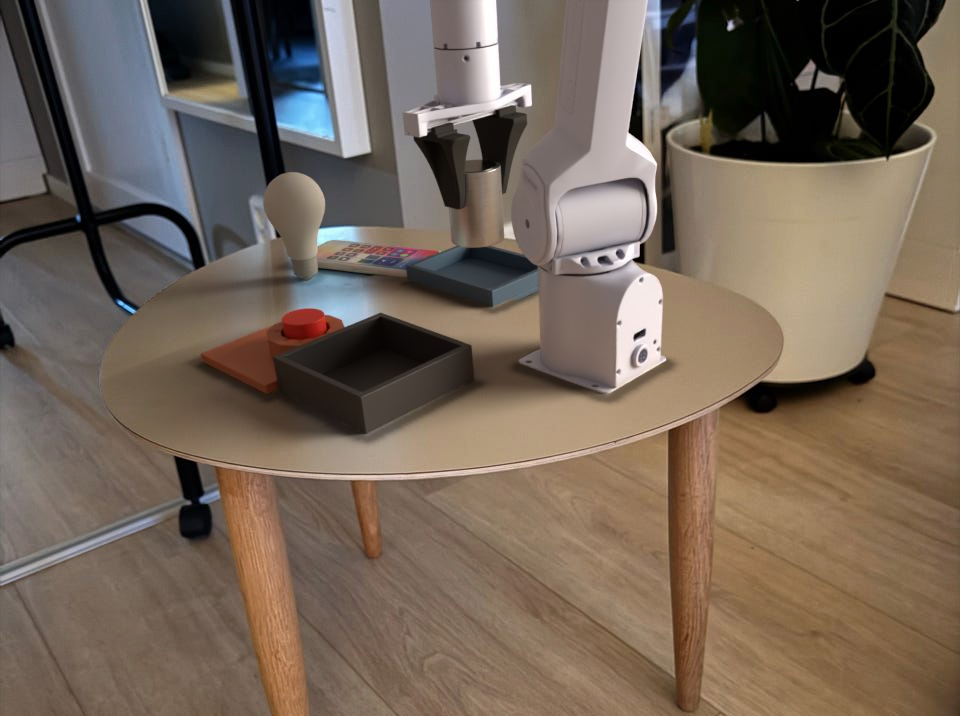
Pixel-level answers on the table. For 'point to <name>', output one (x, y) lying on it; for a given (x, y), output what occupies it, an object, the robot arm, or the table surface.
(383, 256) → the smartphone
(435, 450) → the table surface
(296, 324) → the button
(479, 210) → the steel cup
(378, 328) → the dark grey open box
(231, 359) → the control
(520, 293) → the tray
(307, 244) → the lightbulb
